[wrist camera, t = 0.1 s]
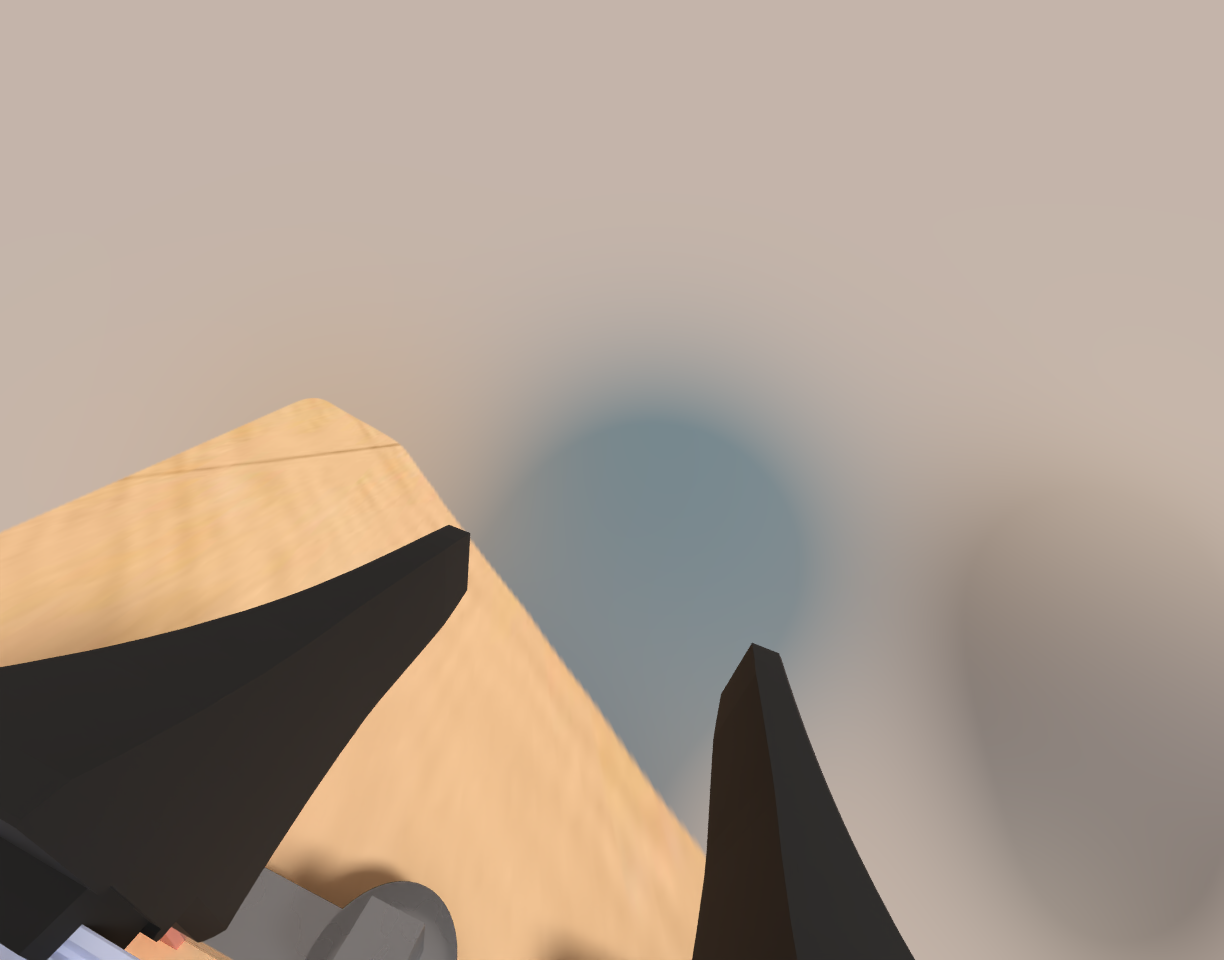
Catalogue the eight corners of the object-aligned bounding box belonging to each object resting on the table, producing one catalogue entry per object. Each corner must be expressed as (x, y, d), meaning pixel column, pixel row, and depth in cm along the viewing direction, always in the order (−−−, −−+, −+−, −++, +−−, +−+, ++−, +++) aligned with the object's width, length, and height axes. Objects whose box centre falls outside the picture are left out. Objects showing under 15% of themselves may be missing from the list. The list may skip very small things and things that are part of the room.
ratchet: (3, 916, 18) (-58, 859, 16) (168, 773, 24) (141, 714, 21) (391, 1153, 16) (388, 1129, 13) (480, 934, 21) (490, 888, 19)
